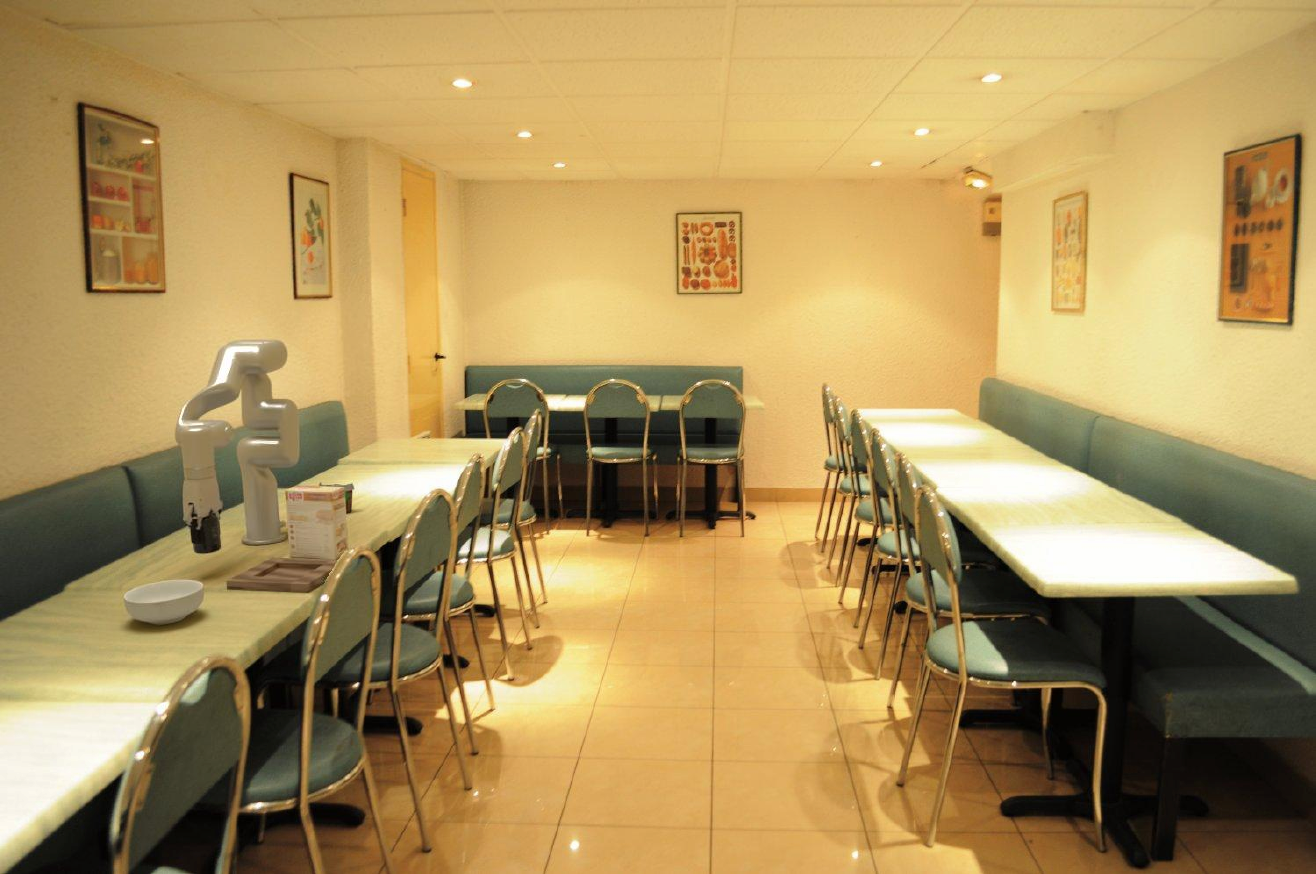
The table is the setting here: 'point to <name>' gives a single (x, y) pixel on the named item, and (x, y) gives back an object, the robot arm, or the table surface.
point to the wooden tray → (284, 575)
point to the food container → (347, 494)
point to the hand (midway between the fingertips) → (206, 538)
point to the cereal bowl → (164, 601)
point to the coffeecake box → (316, 521)
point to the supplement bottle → (209, 535)
